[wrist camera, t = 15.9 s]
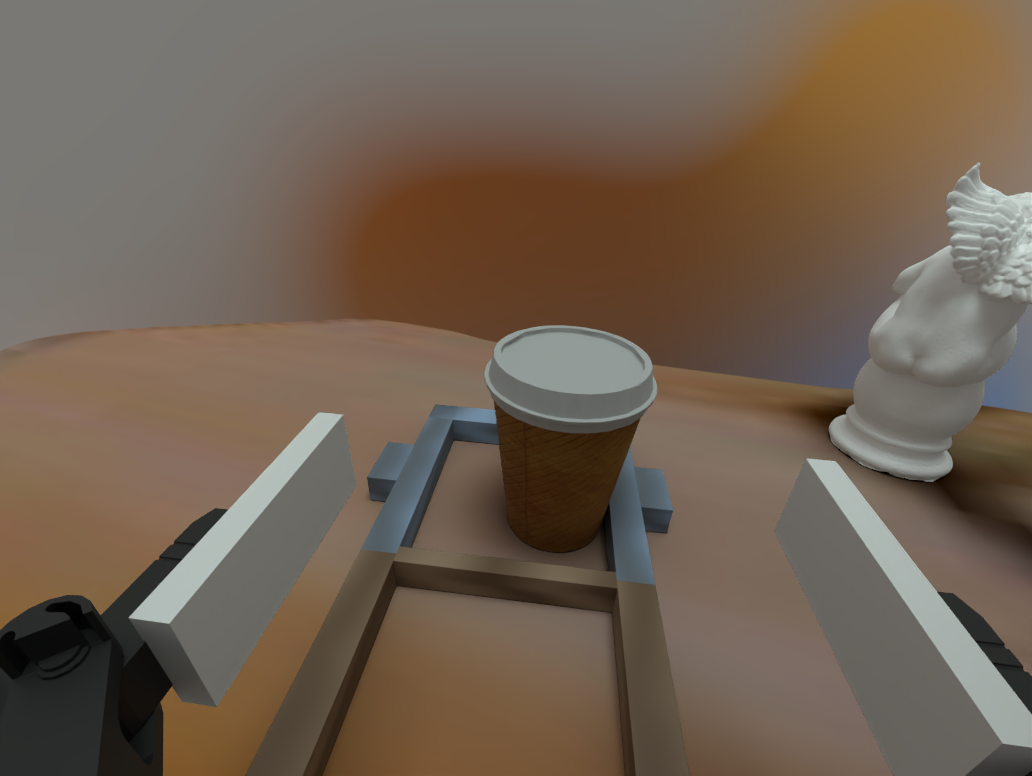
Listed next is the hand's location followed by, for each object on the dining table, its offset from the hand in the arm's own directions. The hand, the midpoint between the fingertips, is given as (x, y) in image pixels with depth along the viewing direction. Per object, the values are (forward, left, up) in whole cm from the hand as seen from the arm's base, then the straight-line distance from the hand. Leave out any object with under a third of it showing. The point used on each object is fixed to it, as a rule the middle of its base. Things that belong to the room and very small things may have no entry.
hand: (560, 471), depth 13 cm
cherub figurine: (-29, -23, -14) cm, 39 cm away
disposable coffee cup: (0, -12, -14) cm, 19 cm away
